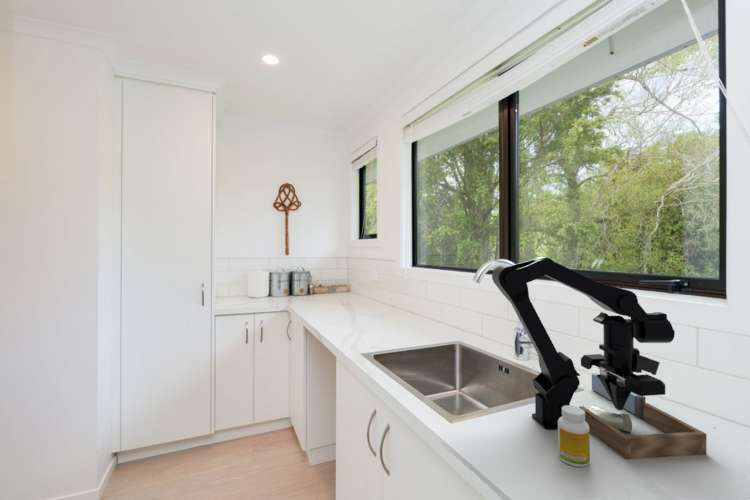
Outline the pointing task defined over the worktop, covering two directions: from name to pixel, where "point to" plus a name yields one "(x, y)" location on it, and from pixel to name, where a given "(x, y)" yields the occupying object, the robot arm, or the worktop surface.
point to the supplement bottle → (573, 437)
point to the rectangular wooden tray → (650, 435)
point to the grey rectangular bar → (599, 388)
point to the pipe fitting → (613, 418)
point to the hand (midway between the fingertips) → (619, 409)
